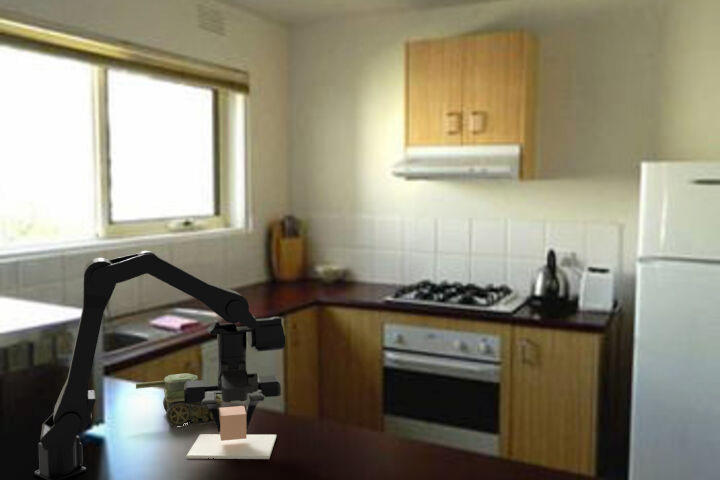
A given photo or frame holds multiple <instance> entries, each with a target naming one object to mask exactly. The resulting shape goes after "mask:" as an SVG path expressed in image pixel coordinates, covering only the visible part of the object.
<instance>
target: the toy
mask: <svg viewBox="0 0 720 480" xmlns="http://www.w3.org/2000/svg"><path fill="white" fill-rule="evenodd" d="M198 380H199V377H198V375H196V374H193V373H188V372H187V373H186V372H185V373H177V374H169V375H166V376H165V377H164V379H163V380H156V381H145V382H136V383H135V389H136V390H138V389H146V388H147V389H148V388H149V389H150V388H158V387H164V388H163V392H164V397H163V401H162V403H163V409H164V410H165V414H166V415H165V416H166V419H167V420H166V421H168V424H169V425H170V426H171V427H173V428H178V427H177V426H183V424H184V423H186V422H188V425H191V426H196V425H195V424H200V425H205V424H204V423H208V424H215V421H214V418H213V415H212V413H211V411H210V409H209V408H208V406H207V405H202V404H201V402H192V403H186V402H184V384H185V383H186V382H187V381H198ZM216 400H217V407H218V413H219V408H223V407H222V404H223V403H224V401H223V400H222V396H221V394H216ZM189 420H191V421H189ZM189 422H190V423H189ZM186 425H187V424H186ZM183 427H186V426H185V424H184V426H183Z"/></svg>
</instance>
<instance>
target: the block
mask: <svg viewBox="0 0 720 480" xmlns="http://www.w3.org/2000/svg"><path fill="white" fill-rule="evenodd" d="M219 420H220V432H219V434H220V438H221V441H224V440H235V439H247V437H246V434H247V430H246V406H245V405H238V406H228V407H226V406H225V407H222V408H219Z"/></svg>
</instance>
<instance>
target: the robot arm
mask: <svg viewBox="0 0 720 480" xmlns="http://www.w3.org/2000/svg"><path fill="white" fill-rule="evenodd" d="M146 274H147V275H150V276H152V277H154V278H156V279H157V280H159V281H161V282H163V283H165V284H167V285H169V286H171V287H173V288H175V289H177V290H179V291H181V292H183V293H185V294H186V295H188V296H189V297H192V298H194V299H196V300H198V301H200V302H201V303H203V305H205V306H206V307H208V308H209V309H210V310H211V311H213V312H214V313H215V314H216V315H218V317H220V318H221V319H223V320H224V321H226V322H227V323H219V321H218V320H216V319H215V320H214V321H213V323H212V324H211V325H209V326H208V327H207V328H206V332H207V333H209V335H211V336H212V335H215V336H216V335H217V340H216V341H217V348H216V349H217V384H205V380H204V379H203V380H202V379H198V381H187V382H186V383H185V384H184V402H186V403H192V402H201V404H202V405H207V406H208V408H209V409H210V411H211V413H212V415H213V418H214V421H215V423H214V424H215V426H216V430H217V431H218V432H217V433H220V420H219V413H218V407H217V400H216V394H219V395H221V399H222V400H223V403H231V402H245V411H246V431H247V430H248V429H249V426H250V423H251V420H252V417H253V415H254V412H255V409H256V408H257V406H258V404H259V403H260V402H264V401H265V398H271V397H280V396H281V395H282V393H281V391H282V390H281V389H282V388H281V383H280V380H279V378H278V377H277V376H276V375H263V376H262V375H261V376H259V375H258V373H254V372H253V373H248V370H247V369H248V367H247V366H248V364H247V362H248V361H247V358H248V356H247V355H248V354H247V353H248V351H247V348H253V351H254V353H263V352H264V353H265V352H273V351H283V350H284V349H285V346H286V335H285V331H284V327H283V323H282V317H280V316H272V317H267V318H256V317H255V315H252V313H251V312H250V309H249V308H250V306H249V302H248V300H247V298H245V297H244V296H243V295H242V294H241V293H239V292H237V291H235V290H234V289H230V288H227V287H224V286H221V285H217V284H215V283H214V284H212V283H210V282H208V281H206V280H202V279H201V278H199V277H197V276H195V275H194V274H192V273H191V272H188V271H186V270H184V269H182V268H181V267H179V266H177V265H175V264H173V263H171V262H169V261H168V260H166V259H164V258H161V257H159V256H158V255H157V254H155V253H154V252H153V251H150V250H142V251H140V252H137V253H134V254H133V253H132V254H129V255H123V256H119V257H114V258H111V259H107V258H104V257H96V258H93V259H91V260H90V261H88V262H87V263H86V264H85V267H84V269H83V286H82V290H83V291H82V309H81V314H80V318H79V323H78V326H77V327H78V328H77V333H76V338H75V341H74V347H73V352H72V356H71V361H70V365H69V370H68V374H67V379H66V381H65V382H64V385H63V386H62V389H61V391H60V394H59V396H58V398H57V400H56V403H55V405H54V409H53V413H52V414H51V415H50V416H49V417H48V418H47V419H46V420H45V421H44V422H43V423H42V425H41V434H40V440H39V441H40V442H38V463H39V464H38V466H39V467H38V468H39V469H37V470H35V471H34V475H36V476H38V477H40V478H42V479H44V480H65V479H67V478H70V477H74V476H75V475H78V474H81V473H83V472H85V471H86V470H87V468H86V467H85V466H83V463H84V462H83V443H81V437H80V435H79V434H81V432H83V431H84V430H85V429H86V427H87V425H88V422H92V421H93V419H92V410H93V408H94V406H95V403H96V400H97V399H96V398H97V397H96V390H95V389H91V390H89V382H90V377H91V373H92V369H93V363H94V359H95V356H96V355H95V354H96V350H97V345H98V341H99V340H98V339H99V336H100V332H101V326H102V321H103V316H104V313H105V310H106V308H107V305H108V304H109V302H110V300H111V297H112V295H113V293H114V290H115V288H116V285H117V284H119V283H123V282H127V281H129V280H131V279H135V278H137V277H141V276H143V275H146ZM237 323H239V324H241V325H243V326H236V324H237ZM247 345H248V347H247Z"/></svg>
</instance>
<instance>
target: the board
mask: <svg viewBox="0 0 720 480" xmlns="http://www.w3.org/2000/svg"><path fill="white" fill-rule="evenodd" d="M246 437H247V439H235V440H224V441H221V438H220V433H219V434H215V433H213V434H211V433H207V434H206V433H205V434H203V433H202V434H201V433H200V434H199V435H198V437H197V438H196V440H195V441H194V443H193V445H192V446H191V448H190V450H189V451H188V452H187V454H186V459H208V458H209V460H210V459H213V458H214V459H220V460H221V459H226V460H227V459H228V460H229V459H230V460H231V459H232V460H233V459H237V460H241V459H242V460H252V459H253V460H270V458H271V454H272V452H273V448H274V447H275V442H276V439H277V434H247V433H246Z"/></svg>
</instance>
